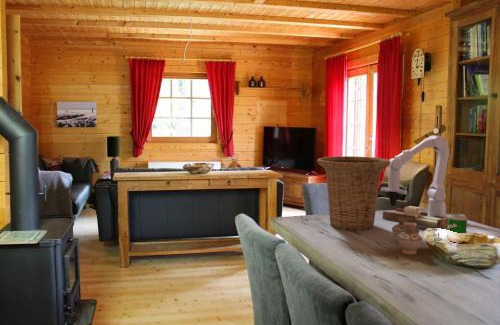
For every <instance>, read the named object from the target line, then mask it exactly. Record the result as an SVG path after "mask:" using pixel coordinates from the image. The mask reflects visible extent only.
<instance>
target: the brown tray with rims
mask: <svg viewBox="0 0 500 325" xmlns="http://www.w3.org/2000/svg"><path fill="white" fill-rule="evenodd" d="M428 215H429V212H425V211H420V216H419V217H416V218H415V216H410V215H404V208H400V207H395V210H393V211H385V210H383V211H382V220H388V221H392V220H393V222H398V218H402V217H406V218H412V219H413V222H417V224H420V225H426V226H431V227H434V226H437V228H443V229H446V228H448V216H447V217H445V218H436V217H430V216H428Z"/></svg>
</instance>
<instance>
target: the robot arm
mask: <svg viewBox="0 0 500 325" xmlns="http://www.w3.org/2000/svg"><path fill="white" fill-rule="evenodd" d="M426 148H432V149H434V150H435V152H436V153H437V159H436V164H435V169H434V173H433V174H434V175H433V179H432V180H433V181H432V183H431V184H430V186H429V188H428V190H427V193H426V194H427V197H428V216H430V217H432V216H441V217H448V215H446V209H447V204H446V202H445V201H444V200H445V199H446V198H447V196H446V195H447V194H446V186H445V184H444V183H445V177H446V172H447V167H448V161H449V158H450V157H449V155H450V149H449V146H448V140H447V139H446V138H445V137H444V136H443V135H432V134H431V135H430V136H428V137H426V138H424V139H423V140H422V141H420V142H419V143H417V144H416V145H415V146H414V147H412V148H411V149H405V150H402V151H401V153H399V154H397V155H395V156H394V158H390V159H388V160H389V161H390V165H389V166H387V167H388V187H380V192H386V195H387V197H388V198H389V203H390V206H391V207H395V206H396V203H397V201H398V198H399V197H400V195H407V194H408V190H406V189H402V188H401V189H400V184H401V183H400V182H401V181H400V180H401V178H400V177H401V169H402V167H403V166H404V165H405V164H407V163H408V162H410V161H411V160H413V158H414V156H415V155H416V154H418V153H420V152H422V151H423V150H425V149H426Z"/></svg>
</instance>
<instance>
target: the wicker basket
mask: <svg viewBox="0 0 500 325" xmlns="http://www.w3.org/2000/svg"><path fill="white" fill-rule="evenodd" d="M389 160H390V159H387V158H381V157H372V156H371V157H370V156H346V155H345V156H344V155H343V156H324V157H320V158H319V157H318V159H317V161H316V162H317V164H318V165H319V166H320V167H323V169H324V171H325V175H326V186H327V200H328V203H327V204H328V212H329V214H328V215H329V222H330V226H332V227H333V228H334V227H335V228H336V229H341V230H346V229H347V230H349V231H354V230H356V231H361V230H364V231H367V230H368V229H369V230H371V229H372V228H374V226H375V218H376V211H377V202H378V194H379V187H380V180H381V174H382V171H383V170H384V169H385V168H387V167H388V166H389V165H390V161H389Z"/></svg>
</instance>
